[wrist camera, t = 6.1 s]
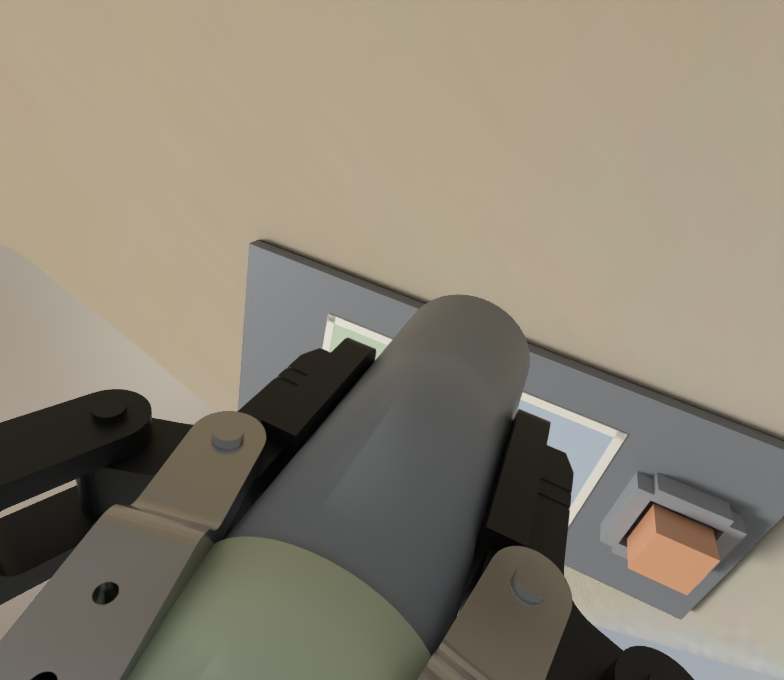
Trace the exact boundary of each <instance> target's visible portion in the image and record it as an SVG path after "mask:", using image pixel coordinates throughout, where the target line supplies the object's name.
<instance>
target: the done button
mask: <svg viewBox="0 0 784 680" xmlns="http://www.w3.org/2000/svg"><path fill="white" fill-rule="evenodd" d="M627 556H628V569H630V570H633V571H635V572H637V573H639V574H641V575H644V576H646V577H648V578H650V579H652V580H654V581H657V582H659V583H661V584H663V585H665V586H667V587H670V588H672V589H674V590H676V591H678V592H681V593H683V594H685V595H688V594H689V593H690V592H691V591H692V590H693V589H694V588H695V587H696V586H697V585H698V584H699V583H700V581H701V580H702V579H703V578H704V577H705V576H706V575H707V574H708V573H709V572H710V571H711V570H712V569H713V568H714V567H715V566H716V565H717V564H718V563H719V562H720V558H719V553H718V549H717V544H716V540H715V536H714V531H713V529H711V528H709V527H706V526H704V525H702V524H699V523H697V522H695V521H692V520H690V519H688V518H685V517H683V516H681V515H678V514H676V513H674V512H671V511H669V510H666V509H664V508H662V507H659V506H657V505H655V504H653V505H652V507H651V508H650V509H649V511H648V512H647V513H646V514H645V516H644V517H643V518H642V520H641V521H640V522H639V524H638V525H637V526H636V528H635V529H634V530H633V532H632V533H631V534H630V536H629V537H628V538H627Z"/></svg>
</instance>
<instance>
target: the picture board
mask: <svg viewBox="0 0 784 680" xmlns="http://www.w3.org/2000/svg"><path fill="white" fill-rule="evenodd" d="M423 305H425V304H424V303H421V302H419V301H416V300H414V299H411V298H408V297H406V296H403V295H401V294H398V293H395V292H393V291H390V290H388V289H385V288H382V287H380V286H377V285H374V284H372V283H369V282H367V281H364V280H361V279H359V278H356V277H354V276H351V275H348V274H346V273H343V272H341V271H338V270H335V269H333V268H330V267H327V266H325V265H322V264H320V263H317V262H314V261H312V260H309V259H307V258H304V257H301V256H299V255H296V254H293V253H291V252H288V251H286V250H283V249H280V248H278V247H275V246H273V245H270V244H267V243H265V242H262V241H260V240H256V241H254V242H252V243H249V256H248V271H247V286H246V301H245V315H244V330H243V345H242V360H241V374H240V389H239V404H238V410H240V409H241V408H242V407H243V406H244V405H245V404H246V403H247V402H248V401H250V400H251V399H252V398H253V397H254V396H255V395H256V394H257V393H259V392H260V391H261V390H262V389H263V388H264V387H265V386H266V385H268V384H269V383H270V382H271V381H272V380H273V379H274V378H277V377H278V375H279V374H280V373H281V372H282V371H283V370H284V369H286V368H288V366H289V365H290V364H291V363H292V362H293V361H295V360H296V359H297V358H298V357H299V356H300V355H301V354H304V353H307V352H310V351H313V350H315V349H318V348H321V349H324V350H326V351H328V352H332V351H333V350H334V349H335V348H336V347H337V346H338V345H339V344H340V343H341V342H342V341H343V340H344V339H345V338H351V339H353V340H355V341H358V342H360V343H363V344H365V345H368V346H370V347H372V348H375V349H376V357H375V360H376V359H377V358H378V356H379V355H380V354H381V353H382V352H383V350H384V349H385V348H386V347H387V346H388V344H389V343H390V342H391V341H392V340H393V339H394V337H395V336H396V335H397V334H398V333H399V331H400V330H401V329H402V328H403V327H404V326H405V324H406V323H407V322H408V321H409V320H410V318H411V317H412V316H413V315H414V314H415V313H416V312H417V311H418V310H419V309H420V308H421V307H422V306H423ZM527 344H528V348H529V354H530V366H529V372H528V375H527V379H526V382H525V386H524V389H523V393H522V396H521V399H520V403H519V406H518V410H519V409H521V410H523V411H526V412H528V413H530V414H533V415H535V416H538V417H540V418H542V419H545V420H547V421H550V422H551V425H550V431H549V436H548V442H547V445H548V446H551V447H553V448H555V449H558V450H560V451H562V452H565V453H566V454H567V457H568V460H569V462H570V465H571V467H572V470H573V472H574V476H573V486H572V492H571V505H570V508H569V510H570V514H569V524H568V534H567V543H566V553H565V563H564V565H566V566H568V567H570V568H572V569H574V570H576V571H579V572H581V573H583V574H585V575H587V576H589V577H591V578H593V579H596V580H598V581H600V582H602V583H604V584H606V585H608V586H610V587H613V588H615V589H617V590H619V591H621V592H623V593H625V594H628V595H630V596H632V597H634V598H636V599H638V600H640V601H642V602H645V603H647V604H649V605H651V606H653V607H655V608H657V609H659V610H662V611H664V612H666V613H668V614H670V615H672V616H674V617H676V618H679V619H682V618H683V617H684V616H685V615H686V614H687V613H688V612H689V611H690V610H691V609H692V608H693V607H694V606H695V605H696V604H697V603H698V602H699V601H700V600H701V599H702V598H703V597H704V596H705V595H706V594H707V593H708V592H709V591H710V590H711V589H712V588H713V587H714V586H715V585H716V584H717V583H718V582H719V581H720V580H721V579H722V578H723V577H724V576H725V575H726V574H727V573H728V572H729V571H730V570H731V569H732V568H733V567H734V566H735V565H736V564H737V563H738V562H739V561H740V560H741V559H742V558H743V557H744V556H745V555H746V554H747V553H748V552H749V551H750V550H751V549H752V548H753V547H754V546H755V544H756V543H757V542H758V541H759V540H760V539H761V538H762V537H763V536H764V535H765V534H766V533H767V532H768V531H769V530H770V529H771V528H772V527H773V526H774V525H775V524H776V523H777V522H778V521H779V520H780V519H781V518H782V517H783V516H784V441H782V440H779V439H777V438H774V437H771V436H769V435H766V434H764V433H761V432H758V431H756V430H753V429H751V428H748V427H745V426H743V425H740V424H737V423H735V422H732V421H730V420H727V419H724V418H722V417H719V416H717V415H714V414H711V413H709V412H706V411H704V410H701V409H698V408H696V407H693V406H690V405H688V404H685V403H683V402H680V401H677V400H675V399H672V398H670V397H667V396H664V395H662V394H659V393H657V392H654V391H651V390H649V389H646V388H643V387H641V386H638V385H636V384H633V383H630V382H628V381H625V380H623V379H620V378H617V377H615V376H612V375H610V374H607V373H604V372H602V371H599V370H596V369H594V368H591V367H589V366H586V365H583V364H581V363H578V362H576V361H573V360H570V359H568V358H565V357H563V356H560V355H557V354H555V353H552V352H549V351H547V350H544V349H542V348H539V347H536V346H534V345H531V344H529V343H527ZM518 410H517V411H518ZM653 504H655V505H657V506H659V507H662V508H664V509H666V510H669V511H671V512H674V513H676V514H678V515H681V516H683V517H685V518H688V519H690V520H692V521H695V522H697V523H699V524H702V525H704V526H706V527H709V528H711V529H713V531H714V536H715V540H716V544H717V549H718V553H719V558H720V562H719V563H718V564H717V565H716V566H715V567H714V568H713V569H712V570H711V571H710V572H709V573H708V574H707V575H706V576H705V577H704V578H703V579H702V580H701V581H700V583H699V584H698V585H697V586H696V587H695V588H694V589H693V590H692V591H691V592H690V593H689V594H688V595H685V594H683V593H681V592H678V591H676V590H674V589H672V588H670V587H667V586H665V585H663V584H661V583H659V582H657V581H654V580H652V579H650V578H648V577H646V576H644V575H641V574H639V573H637V572H635V571H633V570H630V569H628V556H627V538H628V537H629V536H630V534H631V533H632V532H633V530H634V529H635V528H636V526H637V525H638V524H639V522H640V521H641V520H642V518H643V517H644V516H645V514H646V513H647V512H648V511H649V509H650V508H651V507H652V505H653Z"/></svg>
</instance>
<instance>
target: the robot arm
mask: <svg viewBox="0 0 784 680" xmlns="http://www.w3.org/2000/svg"><path fill="white" fill-rule="evenodd" d="M375 357H376V349H375V348H372V347H370V346H368V345H365V344H363V343H360V342H358V341H355V340H353V339H351V338H345V339H344V340H343V341H342V342H341V343H340V344H339V345H338V346H337V347H336V348H335V349H334V350H333V351H332V352H328V351H326V350H324V349H321V348H318V349H315V350H313V351H310V352H307V353H304V354H301V355H300V356H299V357H298V358H297V359H296V360H295V361H293V362H292V363H291V364H290V365H289V366H288V368H286V369H284V370H283V371H282V372H281V373H280V374H279V375H278V377H277V378H274V379H273V380H272V381H271V382H270V383H269V384H268V385H266V386H265V387H264V388H263V389H262V390H261V391H260V392H259V393H257V394H256V395H255V396H254V397H253V398H252V399H251V400H250V401H248V402H247V403H246V404H245V405H244V406H243V407H242V408H241V409H240V410H238V411H237V412H235V411H223V412H217V413H213V414H210V415H207V416H205V417H204V418H202V419H200V420H199V421H198V422H196V423H195V424H194V425H190V424H183V423H177V422H172V421H166V420H161V419H155V418H152V412H151V406H150V403H149V402H148V400H147V399H146V398H145V397H143V396H142V395H140V394H138V393H136V392H132V391H128V390H121V389H112V390H104V391H99V392H95V393H92V394H88V395H85V396H82V397H79V398H76V399H73V400H70V401H67V402H64V403H61V404H57V405H54V406H51V407H48V408H45V409H42V410H39V411H35V412H32V413H29V414H26V415H23V416H20V417H17V418H14V419H11V420H7V421H4V422H1V423H0V512H1V511H2V510H4V509H6V508H8V507H11V506H13V505H16V504H18V503H20V502H23V501H25V500H27V499H30V498H32V497H35V496H37V495H39V494H42V493H44V492H46V491H49V490H51V489H53V488H56V487H58V486H61V485H63V484H65V483H68V482H70V481H72V480H75V479H76V482H77V485H76V486H74V487H72V488H69V489H67V490H65V491H62V492H60V493H58V494H55V495H53V496H51V497H49V498H46V499H44V500H42V501H40V502H37V503H35V504H32V505H30V506H28V507H25V508H23V509H21V510H19V511H16V512H14V513H11V514H9V515H7V516H4V517H2V518H0V605H1V604H3V603H5V602H7V601H9V600H10V599H12V598H14V597H16V596H18V595H20V594H22V593H24V592H25V591H27V590H29V589H31V588H33V587H35V586H37V585H39V584H41V583H43V582H44V581H46V580H48V579H50V578H51V579H50V580H49V581H48V582H47V584H46V585H45V586H44V588H43V589H42V590H41V591H40V592H39V594H38V595H37V596H36V597H35V598H34V600H33V601H32V602H31V603H30V605H29V606H28V607H27V608H26V610H25V611H24V612H23V613H22V615H21V616H20V617H19V618H18V619H17V621H16V622H15V623H14V624H13V626H12V627H11V628H10V629H9V631H8V632H7V633H6V634H5V636H4V637H3V638H2V639H1V641H0V680H127V679H128V677H129V675H130V674H131V672H132V671H133V669H134V667H135V666H136V664H137V663H138V661H139V659H140V658H141V656H142V655H143V653H144V651H145V650H146V648H147V647H148V645H149V643H150V642H151V640H152V639H153V637H154V635H155V634H156V632H157V631H158V629H159V627H160V626H161V624H162V623H163V621H164V619H165V618H166V616H167V615H168V613H169V612H170V610H171V608H172V607H173V605H174V604H175V602H176V601H177V599H178V598H179V596H180V595H181V593H182V592H183V590H184V588H185V587H186V585H187V584H188V582H189V581H190V579H191V578H192V576H193V575H194V573H195V572H196V570H197V568H198V567H199V565H200V564H201V562H202V561H203V560H204V558H205V557H206V555H207V554H208V552H209V551H210V549H211V548H212V547H213V545H214V544H215V543H217V542H219V541H221V540H224V539H225V538H226V536H227V535H228V534H229V533H230V532H231V531H232V529H233V528H234V527H235V526H236V525H237V523H238V522H239V521H240V520H241V519H242V518H243V516H244V515H245V514H246V513H247V512H248V510H249V509H250V508H251V507H252V506H253V504H254V503H255V502H256V501H257V500H258V499H259V497H260V496H261V495H262V494H263V493H264V491H265V490H266V489H267V488H268V487H269V486H270V484H271V483H272V482H273V481H274V480H275V478H276V477H277V476H278V475H279V474H280V472H281V471H282V470H283V469H284V468H285V467H286V465H287V464H288V463H289V462H290V461H291V459H292V458H293V457H294V456H295V455H296V454H297V452H298V451H299V450H300V449H301V448H302V446H303V445H304V444H305V443H306V442H307V440H308V439H309V438H310V437H311V436H312V435H313V433H314V432H315V431H316V430H317V429H318V427H319V426H320V425H321V424H322V423H323V422H324V420H325V419H326V418H327V417H328V416H329V414H330V413H331V412H332V411H333V410H334V408H335V407H336V406H337V405H338V404H339V403H340V401H341V400H342V399H343V398H344V397H345V395H346V394H347V393H348V392H349V391H350V390H351V388H352V387H353V386H354V385H355V384H356V382H357V381H358V380H359V379H360V378H361V376H362V375H363V374H364V373H365V372H366V371H367V369H368V368H369V367H370V366H371V365H372V363H373V362H374V361H375ZM550 425H551V422H550V421H547V420H545V419H542V418H540V417H538V416H535V415H533V414H530V413H528V412H526V411H523V410H521V409H519V410H518V411H517V413H516V415H515V417H514V419H513V422H512V426H511V429H510V432H509V436H508V439H507V442H506V446H505V449H504V453H503V456H502V459H501V463H500V466H499V469H498V473H497V476H496V480H495V483H494V486H493V490H492V493H491V497H490V500H489V503H488V507H487V510H486V513H485V517H484V520H483V524H482V527H481V530H480V534H479V537H478V540H477V544H476V547H475V554H474V560H473V564H472V567H471V571H470V574H469V577H468V581H467V584H466V588H465V591H464V595H463V598H462V601H461V605H460V608H459V609H460V610H459V613H458V616H457V618H456V619H455V621H454V623H453V624H452V626H451V628H450V629H449V631H448V633H447V634H446V636H445V638H444V639H443V641H442V642H441V644H440V646H439V647H438V649H437V650H436V651H435V652H434V654H433V655H432V657H431V658H430V660H429V661H428V663H427V665H426V666H425V668H424V670H423V671H422V673H421V674H420V676H419V678H418V679H417V680H694V679H693V678H692V677H691V676H690V674H688V672H687V671H686V670H685V669H684V668H683V667H682V666H681V665H679V664H678V663H677V662H676V661H675V660H673V659H672V658H670V657H669V656H668V655H666V654H664V653H662V652H660V651H658V650H656V649H653V648H650V647H646V646H633V647H630V648H628V649H625V650H624V651H623V650H622V649H620V648H619V647H618V646H617V645H616V644H614V643H613V642H612V641H611V640H610V639H609V638H607V637H606V636H605V635H604V634H602V633H601V632H600V631H599V630H598V629H597V628H595V627H594V626H593V625H592V624H591V623H590V622H589V621H588V620H587V619H586V618H585V617H584V616H583V615H582V613H581V612H580V611H579V610H578V608H577V607H576V605H575V604H574V602H573V600H572V594H571V590H570V587H569V585H568V583H567V580H566V579H565V577H564V563H565V553H566V543H567V534H568V524H569V514H570V510H569V508H570V505H571V492H572V486H573V476H574V472H573V470H572V467H571V465H570V462H569V460H568V457H567V454H566V453H565V452H562V451H560V450H558V449H555V448H553V447H551V446H548V445H547V442H548V436H549V431H550Z"/></svg>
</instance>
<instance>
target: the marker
mask: <svg viewBox="0 0 784 680" xmlns="http://www.w3.org/2000/svg"><path fill="white" fill-rule="evenodd" d="M529 366H530V354H529V348H528V344H527V341H526V338H525V336H524V334H523V332H522V331H521V329H520V327H519V326H518V324H517V323H516V322H515V321H514V319H513V318H512V317H511V316H509V315H508V314H507V313H506V312H505V311H504V310H502V309H501V308H500V307H498V306H496V305H495V304H493V303H491V302H489V301H486V300H484V299H481V298H478V297H474V296H468V295H448V296H443V297H440V298H437V299H434V300H432V301H430V302H428V303H426V304H425V305H423V306H422V307H421V308H420V309H419V310H418V311H417V312H416V313H415V314H414V315H413V316H412V317H411V318H410V320H409V321H408V322H407V323H406V324H405V326H404V327H403V328H402V329H401V330H400V331H399V333H398V334H397V335H396V336H395V337H394V339H393V340H392V341H391V342H390V343H389V344H388V346H387V347H386V348H385V349H384V350H383V352H382V353H381V354H380V355H379V356H378V358H377V359H376V360H375V361H374V362H373V363H372V365H371V366H370V367H369V368H368V369H367V371H366V372H365V373H364V374H363V375H362V376H361V378H360V379H359V380H358V381H357V382H356V384H355V385H354V386H353V387H352V388H351V390H350V391H349V392H348V393H347V394H346V395H345V397H344V398H343V399H342V400H341V401H340V403H339V404H338V405H337V406H336V407H335V408H334V410H333V411H332V412H331V413H330V414H329V416H328V417H327V418H326V419H325V420H324V422H323V423H322V424H321V425H320V426H319V427H318V429H317V430H316V431H315V432H314V433H313V435H312V436H311V437H310V438H309V439H308V440H307V442H306V443H305V444H304V445H303V446H302V448H301V449H300V450H299V451H298V452H297V454H296V455H295V456H294V457H293V458H292V459H291V461H290V462H289V463H288V464H287V465H286V467H285V468H284V469H283V470H282V471H281V472H280V474H279V475H278V476H277V477H276V478H275V480H274V481H273V482H272V483H271V484H270V486H269V487H268V488H267V489H266V490H265V491H264V493H263V494H262V495H261V496H260V497H259V499H258V500H257V501H256V502H255V503H254V504H253V506H252V507H251V508H250V509H249V510H248V512H247V513H246V514H245V515H244V516H243V518H242V519H241V520H240V521H239V522H238V523H237V525H236V526H235V527H234V528H233V529H232V531H231V532H230V533H229V534H228V535H227V536H226V538H225V539H224V540H221V541H219V542H217V543H215V544H214V545H213V547H212V548H211V549H210V551H209V552H208V554H207V555H206V557H205V558H204V560H203V561H202V562H201V564H200V565H199V567H198V568H197V570H196V572H195V573H194V575H193V576H192V578H191V579H190V581H189V582H188V584H187V585H186V587H185V588H184V590H183V592H182V593H181V595H180V596H179V598H178V599H177V601H176V602H175V604H174V605H173V607H172V608H171V610H170V612H169V613H168V615H167V616H166V618H165V619H164V621H163V623H162V624H161V626H160V627H159V629H158V631H157V632H156V634H155V635H154V637H153V639H152V640H151V642H150V643H149V645H148V647H147V648H146V650H145V651H144V653H143V655H142V656H141V658H140V659H139V661H138V663H137V664H136V666H135V667H134V669H133V671H132V672H131V674H130V675H129V677H128V679H127V680H417V679H418V678H419V676H420V674H421V673H422V671H423V670H424V668H425V666H426V665H427V663H428V661H429V660H430V658H431V657H432V655H433V654H434V652H435V651H436V650H437V649H438V647H439V646H440V644H441V642H442V641H443V639H444V638H445V636H446V634H447V633H448V631H449V629H450V628H451V626H452V624H453V623H454V621H455V619H456V618H457V615H458V612H459V608H460V605H461V601H462V598H463V595H464V591H465V588H466V584H467V581H468V577H469V574H470V571H471V567H472V564H473V560H474V554H475V547H476V544H477V540H478V537H479V534H480V530H481V527H482V524H483V520H484V517H485V513H486V510H487V507H488V503H489V500H490V497H491V493H492V490H493V486H494V483H495V480H496V476H497V473H498V469H499V466H500V463H501V459H502V456H503V453H504V449H505V446H506V442H507V439H508V436H509V432H510V429H511V426H512V422H513V419H514V417H515V415H516V413H517V410H518V406H519V403H520V399H521V396H522V393H523V389H524V386H525V382H526V379H527V375H528V372H529Z"/></svg>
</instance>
